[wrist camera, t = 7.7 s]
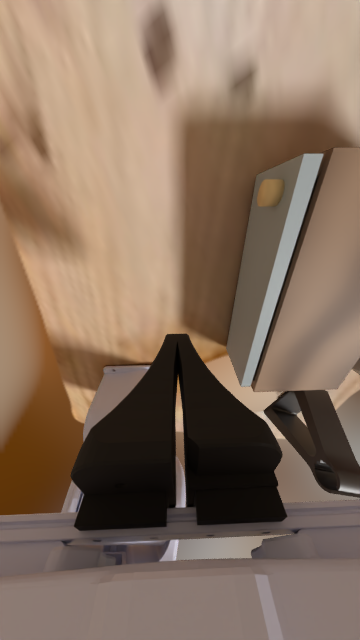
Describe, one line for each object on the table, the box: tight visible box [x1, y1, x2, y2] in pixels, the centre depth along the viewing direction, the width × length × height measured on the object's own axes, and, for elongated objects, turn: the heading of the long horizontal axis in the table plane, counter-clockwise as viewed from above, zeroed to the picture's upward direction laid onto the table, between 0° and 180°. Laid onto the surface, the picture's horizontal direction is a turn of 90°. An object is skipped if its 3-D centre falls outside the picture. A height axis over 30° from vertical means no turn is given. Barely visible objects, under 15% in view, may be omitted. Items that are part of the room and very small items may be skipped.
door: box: [226, 154, 323, 387], centre depth 16 cm, size 2×18×6 cm, turn 0°
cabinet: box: [251, 147, 360, 392], centre depth 17 cm, size 9×19×6 cm, turn 1°
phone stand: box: [264, 390, 360, 498], centre depth 26 cm, size 9×6×12 cm, turn 154°
